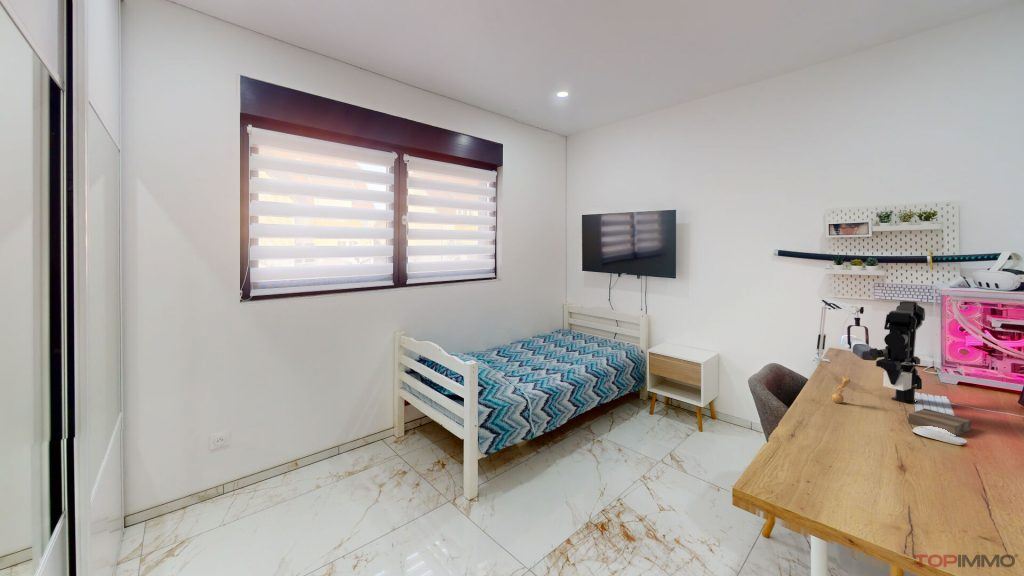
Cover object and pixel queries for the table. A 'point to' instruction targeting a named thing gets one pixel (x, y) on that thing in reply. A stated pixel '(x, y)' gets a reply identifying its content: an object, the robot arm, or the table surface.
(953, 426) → the walnut slab
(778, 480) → the table surface
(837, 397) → the figurine
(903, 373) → the off-white cube
